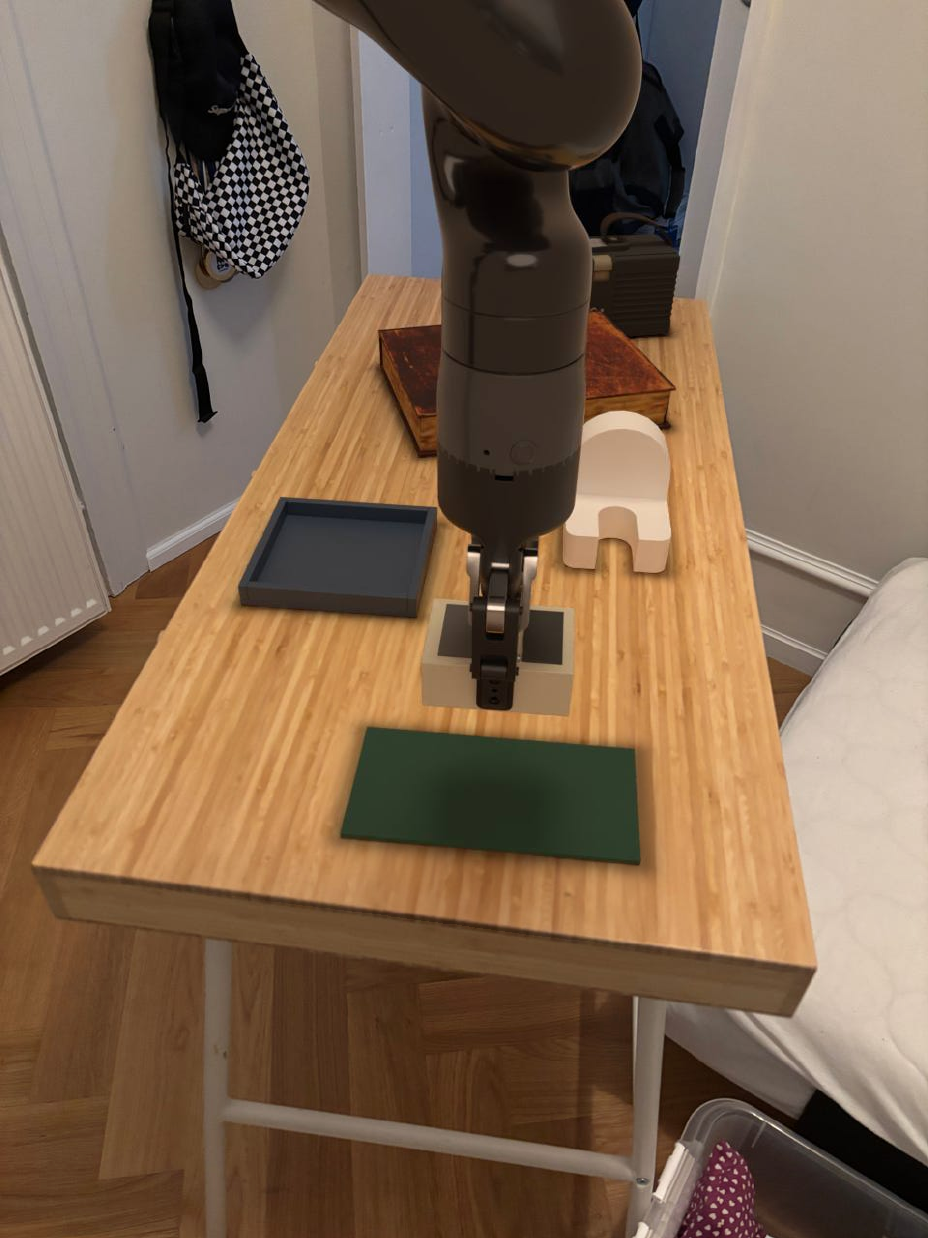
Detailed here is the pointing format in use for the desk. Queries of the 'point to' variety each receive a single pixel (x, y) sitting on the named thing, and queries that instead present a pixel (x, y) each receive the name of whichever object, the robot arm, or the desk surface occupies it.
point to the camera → (634, 278)
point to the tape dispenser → (621, 492)
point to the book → (610, 367)
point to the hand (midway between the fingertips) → (498, 667)
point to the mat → (495, 795)
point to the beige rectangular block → (540, 662)
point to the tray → (341, 557)
